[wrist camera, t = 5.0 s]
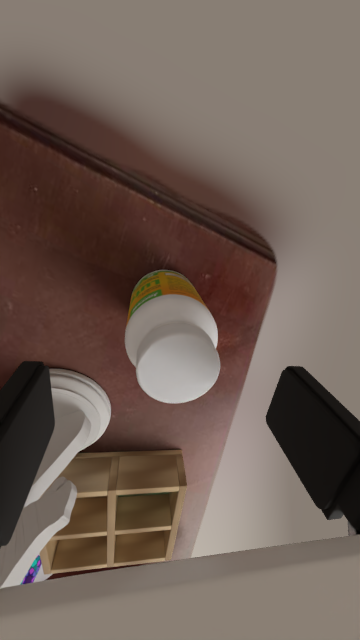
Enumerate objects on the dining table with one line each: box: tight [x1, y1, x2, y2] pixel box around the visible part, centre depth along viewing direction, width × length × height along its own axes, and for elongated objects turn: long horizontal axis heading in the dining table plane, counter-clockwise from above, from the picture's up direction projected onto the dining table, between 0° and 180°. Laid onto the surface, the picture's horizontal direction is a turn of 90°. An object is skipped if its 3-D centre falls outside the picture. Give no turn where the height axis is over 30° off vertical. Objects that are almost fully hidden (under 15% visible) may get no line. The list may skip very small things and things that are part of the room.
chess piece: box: [0, 369, 111, 589], centre depth 16 cm, size 10×10×15 cm
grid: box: [39, 450, 187, 575], centre depth 27 cm, size 15×15×4 cm
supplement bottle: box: [125, 270, 220, 403], centre depth 15 cm, size 5×5×10 cm
